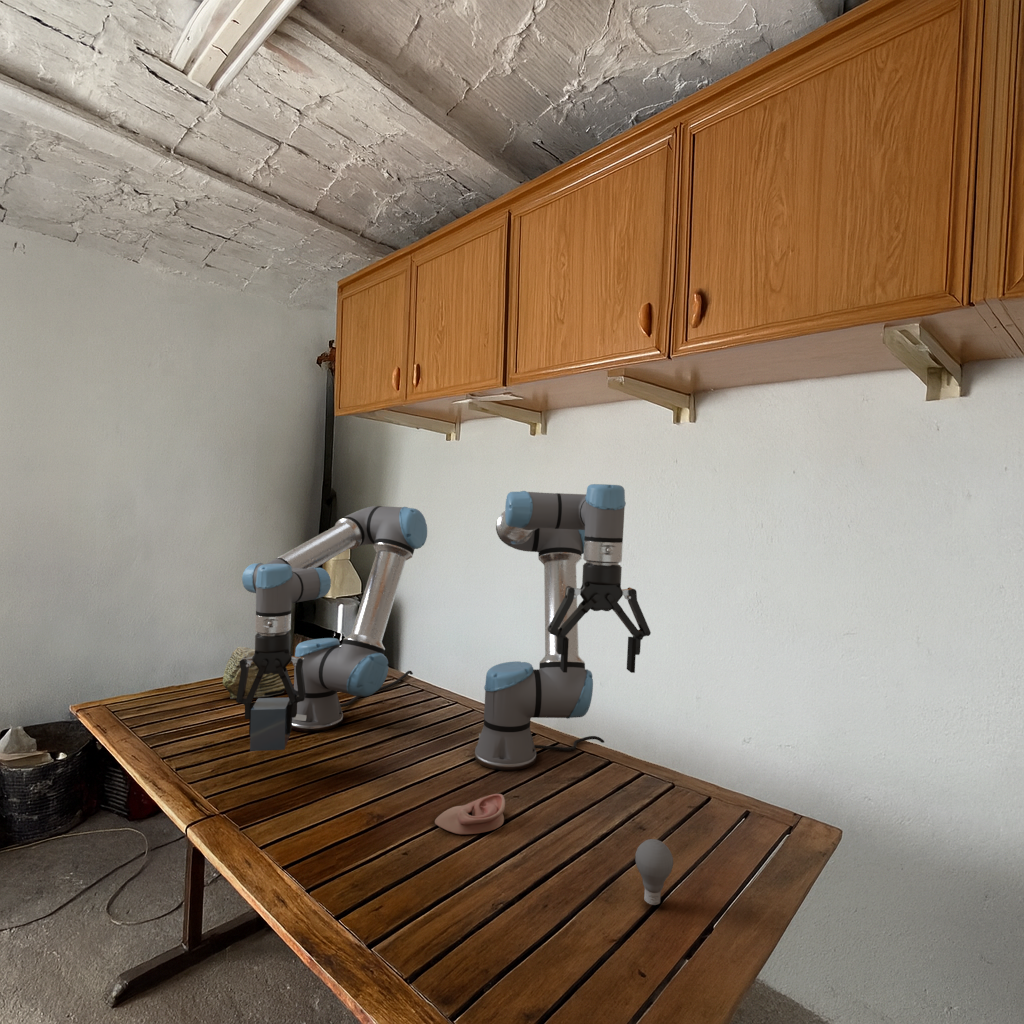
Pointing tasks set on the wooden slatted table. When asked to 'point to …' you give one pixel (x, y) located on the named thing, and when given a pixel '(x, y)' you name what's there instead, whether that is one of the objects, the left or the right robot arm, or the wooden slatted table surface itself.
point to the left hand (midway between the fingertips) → (270, 731)
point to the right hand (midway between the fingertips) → (597, 670)
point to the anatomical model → (474, 816)
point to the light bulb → (653, 868)
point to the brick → (269, 724)
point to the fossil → (249, 676)
